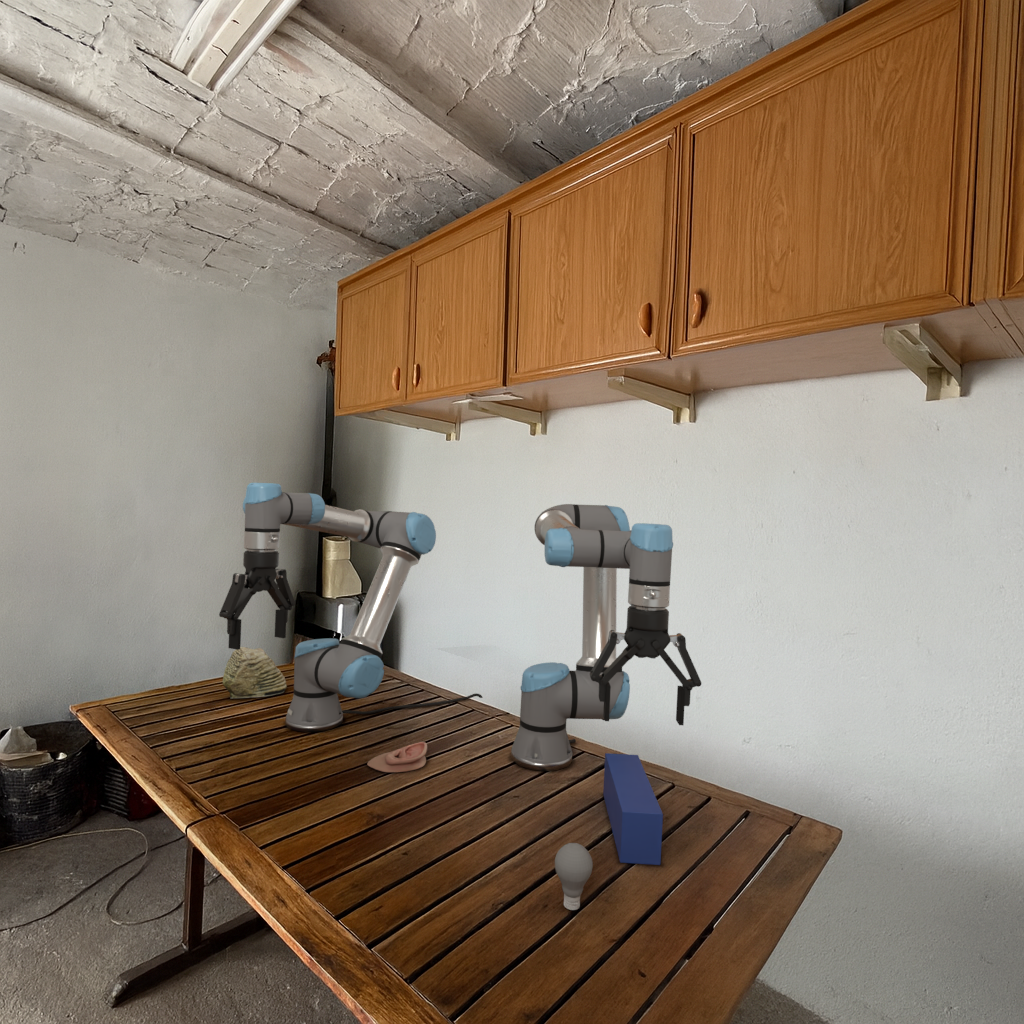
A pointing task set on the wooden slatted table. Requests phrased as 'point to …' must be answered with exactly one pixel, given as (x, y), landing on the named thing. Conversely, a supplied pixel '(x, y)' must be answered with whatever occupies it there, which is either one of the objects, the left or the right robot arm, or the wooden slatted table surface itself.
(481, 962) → the wooden slatted table surface
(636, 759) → the box
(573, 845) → the light bulb
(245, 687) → the fossil
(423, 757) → the anatomical model
